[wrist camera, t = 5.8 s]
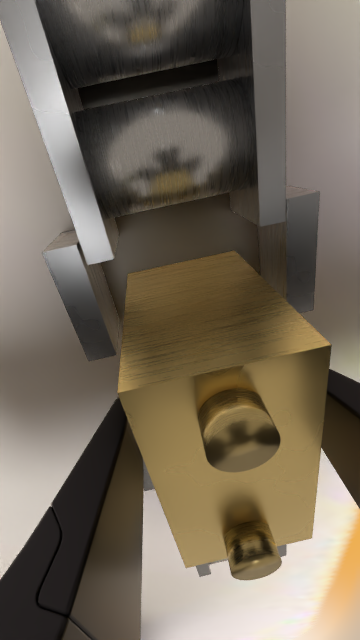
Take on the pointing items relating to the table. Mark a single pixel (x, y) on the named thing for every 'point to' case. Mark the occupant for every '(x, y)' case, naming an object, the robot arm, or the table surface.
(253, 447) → the link
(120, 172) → the chain end
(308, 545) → the table surface
